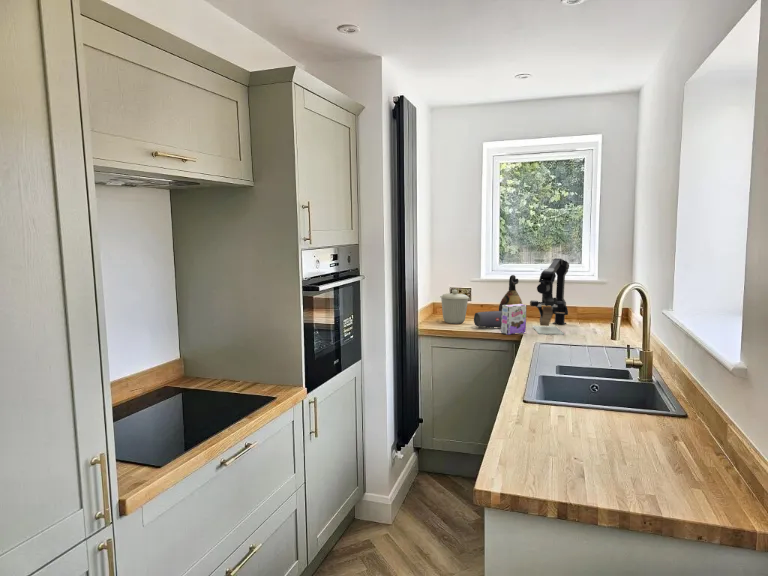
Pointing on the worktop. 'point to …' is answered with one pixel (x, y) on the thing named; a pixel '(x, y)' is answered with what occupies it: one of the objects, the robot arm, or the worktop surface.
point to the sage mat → (548, 330)
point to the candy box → (513, 319)
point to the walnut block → (546, 316)
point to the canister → (454, 307)
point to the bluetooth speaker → (488, 319)
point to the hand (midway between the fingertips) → (546, 318)
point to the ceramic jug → (511, 294)
